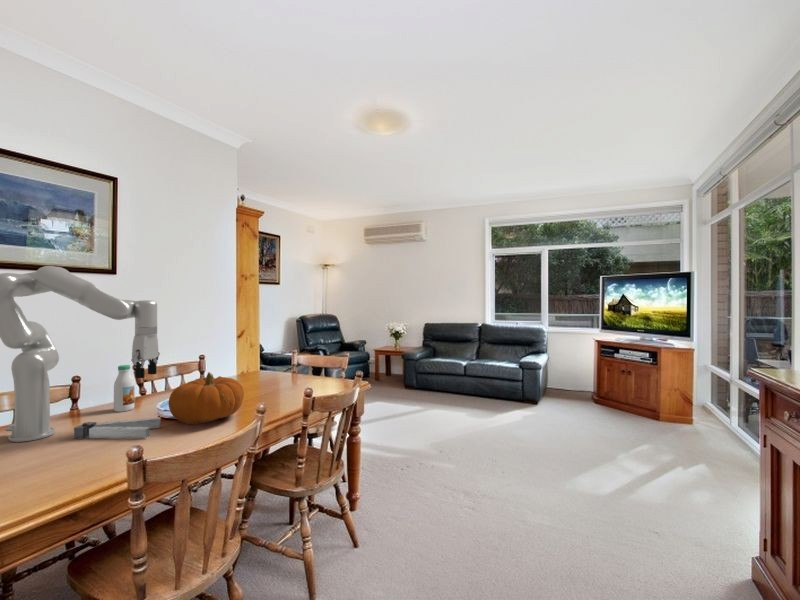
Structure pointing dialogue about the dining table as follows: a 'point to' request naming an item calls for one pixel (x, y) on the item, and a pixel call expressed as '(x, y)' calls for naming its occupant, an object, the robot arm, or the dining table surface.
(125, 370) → the milk bottle
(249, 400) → the dining table surface
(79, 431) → the arm
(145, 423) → the tongs free arm
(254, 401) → the dining table surface
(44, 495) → the dining table surface
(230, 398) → the pumpkin
